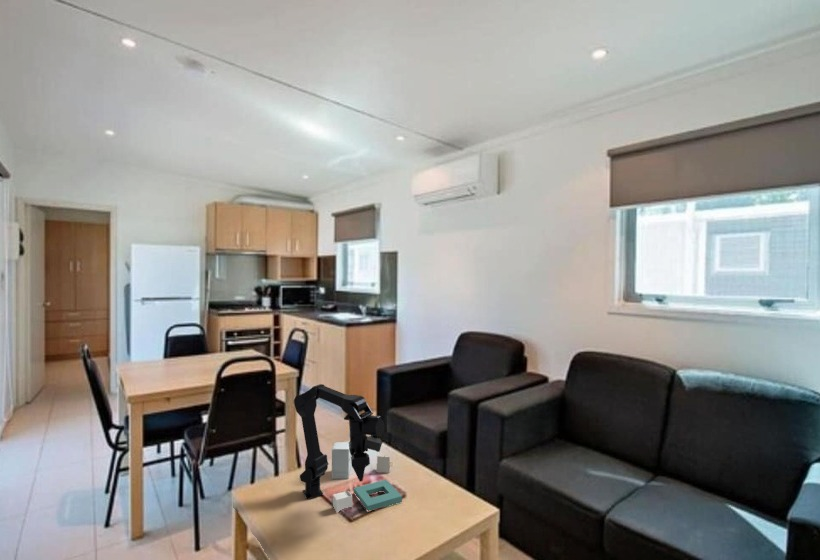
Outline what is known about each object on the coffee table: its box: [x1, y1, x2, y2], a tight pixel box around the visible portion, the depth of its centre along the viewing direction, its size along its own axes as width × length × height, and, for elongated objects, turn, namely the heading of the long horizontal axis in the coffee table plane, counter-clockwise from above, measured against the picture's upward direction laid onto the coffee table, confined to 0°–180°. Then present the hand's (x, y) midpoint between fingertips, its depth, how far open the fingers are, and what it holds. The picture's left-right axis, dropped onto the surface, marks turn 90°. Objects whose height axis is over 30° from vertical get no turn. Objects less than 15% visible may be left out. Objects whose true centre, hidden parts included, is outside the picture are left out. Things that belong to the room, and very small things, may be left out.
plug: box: [332, 490, 353, 514], centre depth 154 cm, size 4×6×5 cm, turn 119°
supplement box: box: [331, 441, 352, 480], centre depth 179 cm, size 7×7×13 cm
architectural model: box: [376, 454, 395, 474], centre depth 182 cm, size 3×7×7 cm, turn 81°
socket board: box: [353, 479, 403, 511], centre depth 161 cm, size 14×14×2 cm
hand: (360, 475), depth 152 cm, fingers open, 9 cm apart
